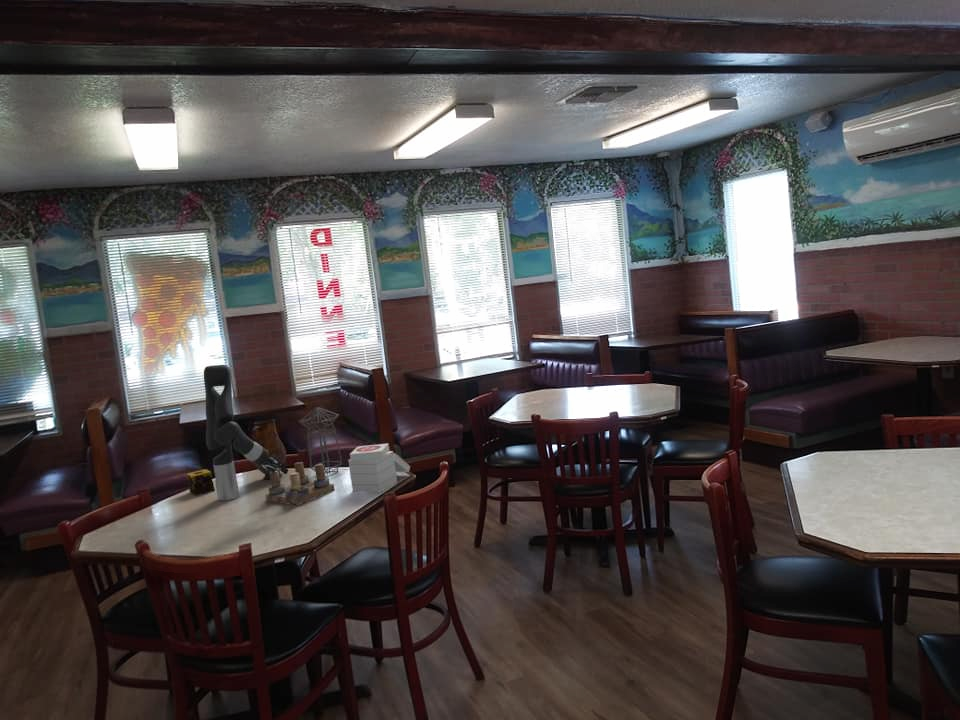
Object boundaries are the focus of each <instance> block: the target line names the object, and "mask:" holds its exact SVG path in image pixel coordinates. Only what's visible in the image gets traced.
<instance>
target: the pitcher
mask: <svg viewBox="0 0 960 720" xmlns="http://www.w3.org/2000/svg"><path fill="white" fill-rule="evenodd" d="M253 425H254V427H253V428H252V429H251V430H252V431H251V436H252V440H253V441H254V442H256V443H258V444H259V445H260V446H262V447H263V448H264V449H266V450H267V451H268V452H269V457H271V458H273V459H275V458H276V459H278V460H279V461H281V462H282V463H283V464H285V463H286V460H287V451H286V447H285V445H284V443H283V442H282V441H281V438H280V437H279V435H278V432H277V427H276V420H275V419H273V418H272V419H267V420H258V421H255V422H253ZM253 465H254V466H255V467H256V469H257V470H258V471H260V473H262V474H263V475H264V477H263V478H262V480H263V481H265V480H270V481H271V479H270V472H271V471H269V470H268V469H265V468H261V467H260V466H257V465H255V464H254V463H253ZM274 466H275V465H274ZM274 466H273V467H274ZM275 471H279V477H281V476H282V475H283V476H284V473H283V472H281V471H280V470H278V469H276V470H275ZM283 476H282V477H283ZM282 477H281V478H282Z"/></svg>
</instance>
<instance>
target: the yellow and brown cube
mask: <svg viewBox="0 0 960 720" xmlns="http://www.w3.org/2000/svg"><path fill="white" fill-rule="evenodd" d="M212 475H213V474H212V471H210V470H208V469H207V468H205V469H201V470H197V471H193V472H189V473H186V477H187V482H188V489H189V493H190V494H191V495H193V496H195V497H196V496H199V495H202V494H203V495H204V494H206V493H211V492H214V490H216V489H215V485H214V482H213V476H212ZM210 491H211V492H210Z"/></svg>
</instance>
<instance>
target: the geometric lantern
mask: <svg viewBox="0 0 960 720" xmlns="http://www.w3.org/2000/svg"><path fill="white" fill-rule="evenodd" d="M339 415H340V414H338V413H336V412H333V411H330V410H328V409H325V408H323V407H320V406H319V407H315V408H314V409H312V410H310V412H308V414H306V415H305V416H304V417H303V418H301V419H300V420H299V421H298V423H300V424H301V425H303V426H304V427H306V428H307V435H306V438H307V443H308V444H307V445H308V455H309V461H310V462H309V463H310V469H311V470H312V471H313V472H315V465H312V453H311V441H310V436H311V435H312V434H316V435H312V437H314V438H315V437H318V438H319V445H320V453H321V460H322V461H321V462H320V463H318V464H323V465H324V472H325V474H327V475H326V476H328V477H331V476H333V475H335V474H338V473H339V468H340V467H341V466H342V465H343V461H342V456H341V452H340V447H339V441H338V440H339V439H338V436H337V431H336V430H337V429H336V428H335V425H334V422H335V420H336V419H337V418H338V417H339ZM308 416H309V417H308ZM326 417H327V418H326ZM306 418H307V419H306ZM322 418H323V419H324V420H322ZM316 419H317V421H316ZM319 419H320V420H319ZM328 422H329V423H328ZM319 423H322V424H323V425H324V426H323V428H320V427H319V426H318V424H319ZM312 425H313V426H312ZM329 426H331V428H332V429H327V428H328V427H329ZM315 427H317V429H319V430H315ZM310 429H312V430H313V432H312V433H310V431H311V430H310ZM326 431H327V432H328V431H329V432H328V433H326ZM330 431H331V432H330ZM318 432H319V433H318ZM322 432H323V434H322ZM330 434H334V437H335V443H336V446H337V447H336V448H337V450H338V455H339V460H338V461H337V460H334V461H333V460H330V457H329V452H328V446H327V445H328V444H327V440H326V436H328V435H330ZM323 445H324V446H323ZM323 447H324V449H323ZM324 450H325V455H326V460H325V459H324ZM325 463H327V464H326V465H325ZM330 463H339V464H336V465H334V466H332V467H331V466H330V465H331V464H330ZM331 472H333V473H332V474H331Z"/></svg>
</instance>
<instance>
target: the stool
mask: <svg viewBox="0 0 960 720" xmlns="http://www.w3.org/2000/svg"><path fill="white" fill-rule="evenodd" d="M324 465H325V464H324ZM324 465H323V463H322V464H319V463H317V464H314V466H315V467H314V469H315V471H314V472H315V477H316V479H313V481H310V478H309V475H306V473H305V467H304V462H303V461H300V462H296V463H294V471H295V473H299V477H300V484H301V490H298V491H292V487H291V484H290V485H287V486H285V484H282V483H281V478H280V477H279V471H275V472H274V473H272V472H270V479H271V480H270V485H271V486H269V487H268V493H267V494H265V501H266V500H267V501H266V502H270V501H274V502H273V503H277V502H281V503H280V504H284V503H289V504H288V505H291V504H296V505H295V506H299V505H298V504H300V503H302V504H304V503H303V502H305V501H307V500H310V499H312V500H314V499H313V498H315V497H317V498H319V497H318V496H320V497H322V496H324V495H323V494H325V495H327V494H329V492H330V493H331V491H332V492H333V491H335V484H334V483H330V478H329V477H327V476H326V473H325V471H324ZM326 493H327V494H326ZM321 495H322V496H321ZM315 499H316V498H315ZM310 501H311V500H310ZM307 502H308V501H307ZM305 503H306V502H305ZM300 505H301V504H300Z"/></svg>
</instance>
